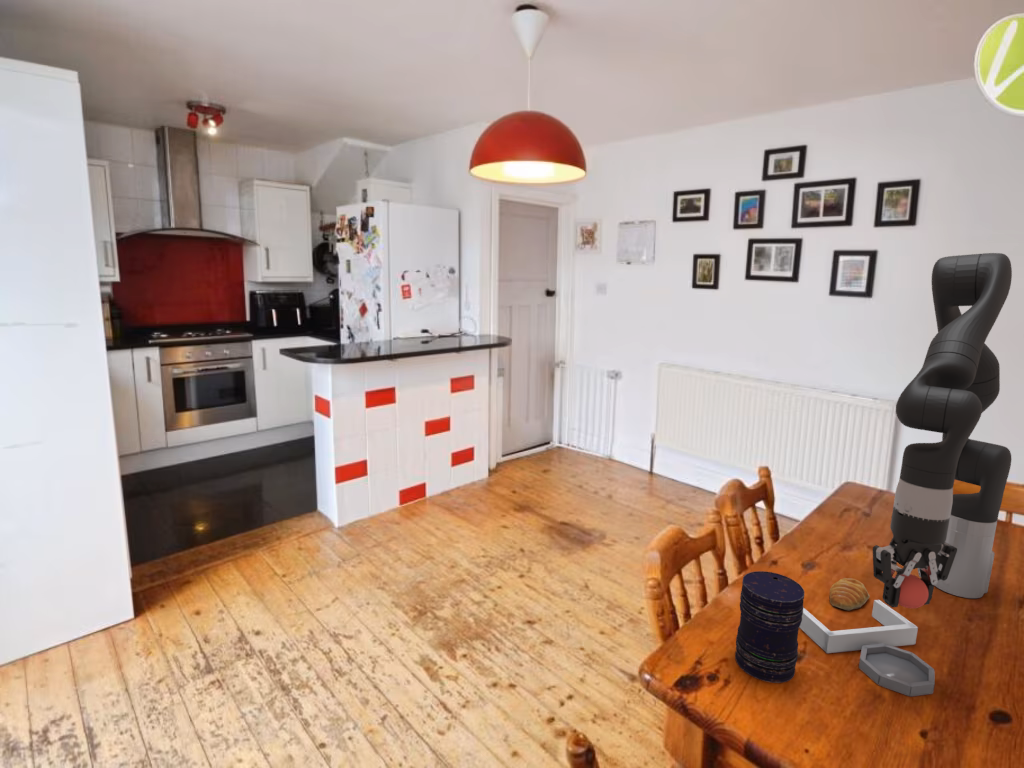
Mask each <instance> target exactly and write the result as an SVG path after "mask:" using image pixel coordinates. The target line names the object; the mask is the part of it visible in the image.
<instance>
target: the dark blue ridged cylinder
mask: <svg viewBox="0 0 1024 768" xmlns="http://www.w3.org/2000/svg"><path fill="white" fill-rule="evenodd" d="M741 584H742V586H741V591H740V597H739V598H740V601H739V611H740V618H739V626H738V627H737V635H736V637H735V653H734V655H735V657H734V659H735V662H736V664H737V666H738V667H739V668H740V669H741V670H742V671H743V672H745V673H746V674H748V675H749V676H751V677H753V678H755V679H757V680H760V681H763V682H766V683H773V684H774V683H775V684H776V683H777V684H781V683H787V682H789V681H791V680H792V679H793V678H794V677H795V674H796V665H797V661H798V655H799V652H798V650H799V641H798V636H799V629H800V628H799V626H800V624H801V621H802V615H803V608H804V599H805V590H804V588H803V586H802V585H801V584H800V583H799V582H797V581H795V580H794V579H792V578H790V577H788V576H786V575H783V574H781V573H776V572H771V571H762V570H759V571H758V570H757V571H751V572H748V573H746V574H744V575H743V578H742V582H741Z"/></svg>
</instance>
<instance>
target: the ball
mask: <svg viewBox="0 0 1024 768" xmlns="http://www.w3.org/2000/svg"><path fill="white" fill-rule="evenodd" d="M895 576H896V575H893V576H892V577H893V578H895ZM920 578H921V577H919V576H916V575H915V574H912V573H910V575H909V576H908V577H905V578H904V580H903V581H902V583H901V585H900V588H901V590H900V596H899V602H898V606H899V605H900V607H901V606H902V607H904V608H907V609H918V608H920V607H923V606H925V605H924V604H925V603H926V602H927V600H928V596H929V593H928V588H927V586H926V585H925V583H924V582H923V581H922V580H921V579H920Z"/></svg>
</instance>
